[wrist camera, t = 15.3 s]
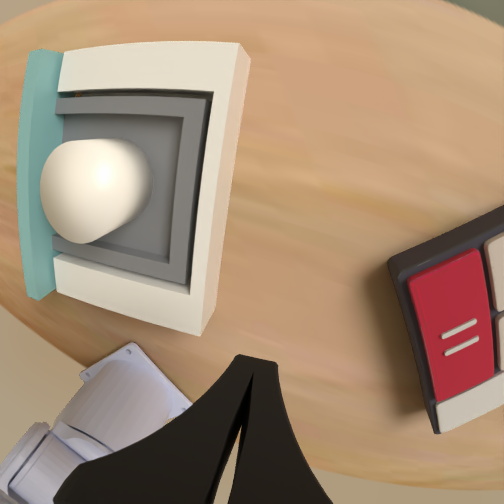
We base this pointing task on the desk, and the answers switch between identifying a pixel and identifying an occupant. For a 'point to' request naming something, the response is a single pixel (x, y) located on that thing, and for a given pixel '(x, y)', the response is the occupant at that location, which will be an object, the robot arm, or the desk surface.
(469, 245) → the calculator
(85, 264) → the dock
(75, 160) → the white dome-topped cylinder
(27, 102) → the tray
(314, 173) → the desk surface
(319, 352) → the desk surface
